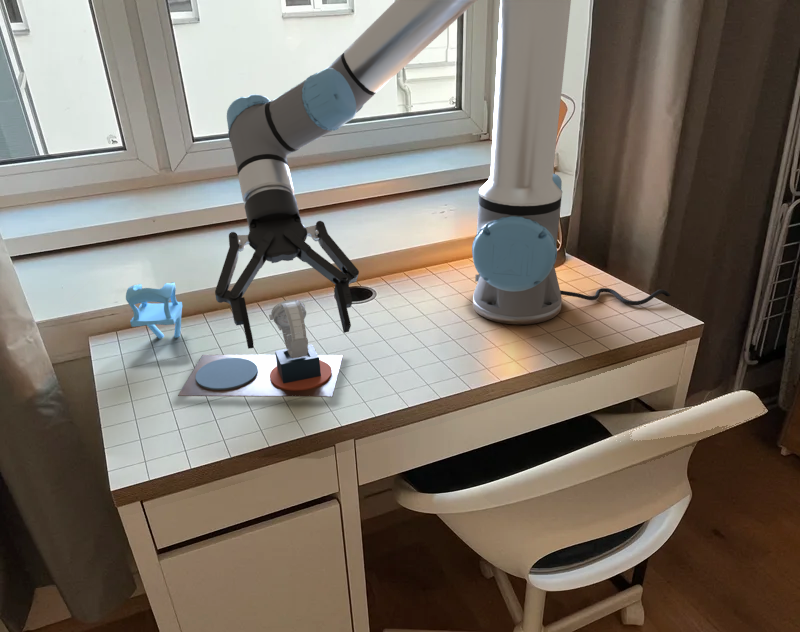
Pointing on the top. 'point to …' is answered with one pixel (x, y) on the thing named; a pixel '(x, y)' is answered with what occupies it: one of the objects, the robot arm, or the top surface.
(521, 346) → the top surface
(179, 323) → the chair
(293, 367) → the watch
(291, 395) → the desk board
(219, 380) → the slate pad
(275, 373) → the terracotta pad
